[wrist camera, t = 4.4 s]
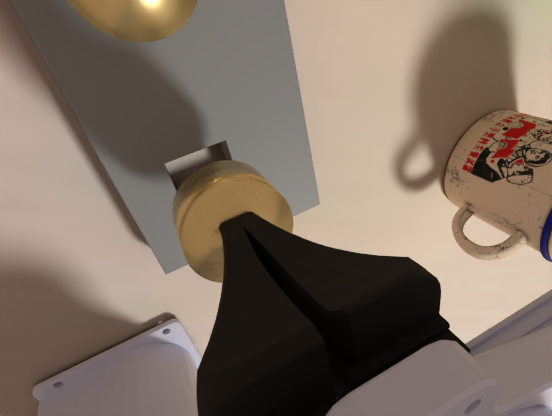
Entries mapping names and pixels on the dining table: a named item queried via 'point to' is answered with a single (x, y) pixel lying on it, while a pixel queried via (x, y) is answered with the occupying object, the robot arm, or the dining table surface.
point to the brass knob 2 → (222, 210)
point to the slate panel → (181, 102)
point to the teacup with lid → (504, 183)
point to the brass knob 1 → (136, 17)
